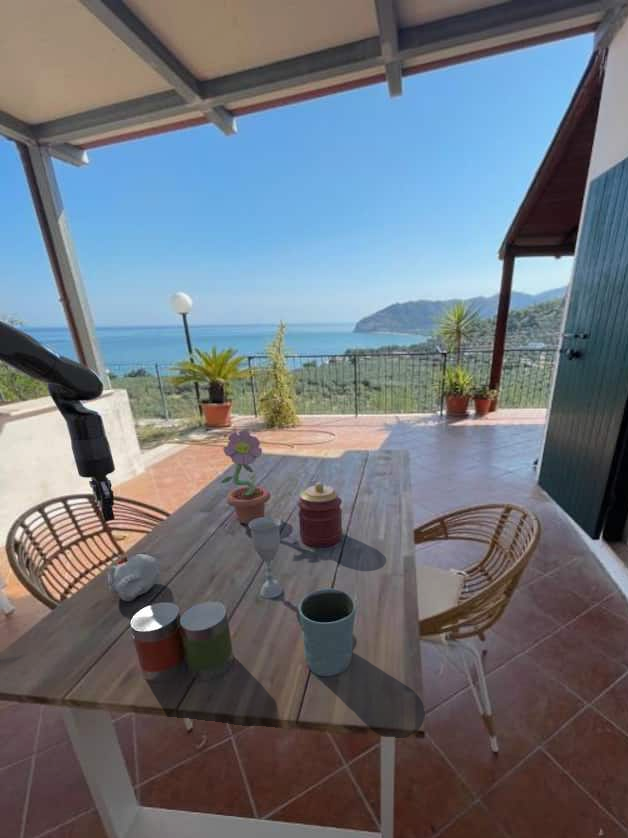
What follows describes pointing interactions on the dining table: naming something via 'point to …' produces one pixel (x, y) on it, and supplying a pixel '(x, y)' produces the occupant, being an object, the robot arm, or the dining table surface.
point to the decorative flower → (250, 497)
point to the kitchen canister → (320, 516)
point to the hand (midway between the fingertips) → (109, 519)
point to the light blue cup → (327, 630)
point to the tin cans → (182, 641)
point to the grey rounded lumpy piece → (133, 576)
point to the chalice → (267, 549)
